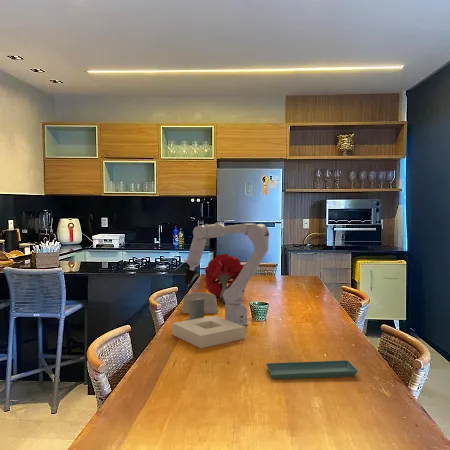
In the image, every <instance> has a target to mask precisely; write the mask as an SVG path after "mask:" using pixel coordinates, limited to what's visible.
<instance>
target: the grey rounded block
mask: <svg viewBox="0 0 450 450" xmlns="http://www.w3.org/2000/svg"><path fill="white" fill-rule="evenodd" d="M199 298H203V299H204V314H218V311H219V310H218V309H219V308H218V304H217V303H218V302H217V297H216V296H215V295H213V294H212V293H210V292H202V291H200V292H199V291H198V292H196V291H195V292H191V293H188V294H185V295H183V300H182V308H181V314H190V300H192V299H199Z"/></svg>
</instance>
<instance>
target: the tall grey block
mask: <svg viewBox="0 0 450 450" xmlns="http://www.w3.org/2000/svg"><path fill="white" fill-rule="evenodd" d="M204 317H205V313H204V299H203V298H199V299H192V300H190V313H189V318H186V321H187V320H192V319H198V318H204Z"/></svg>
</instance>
